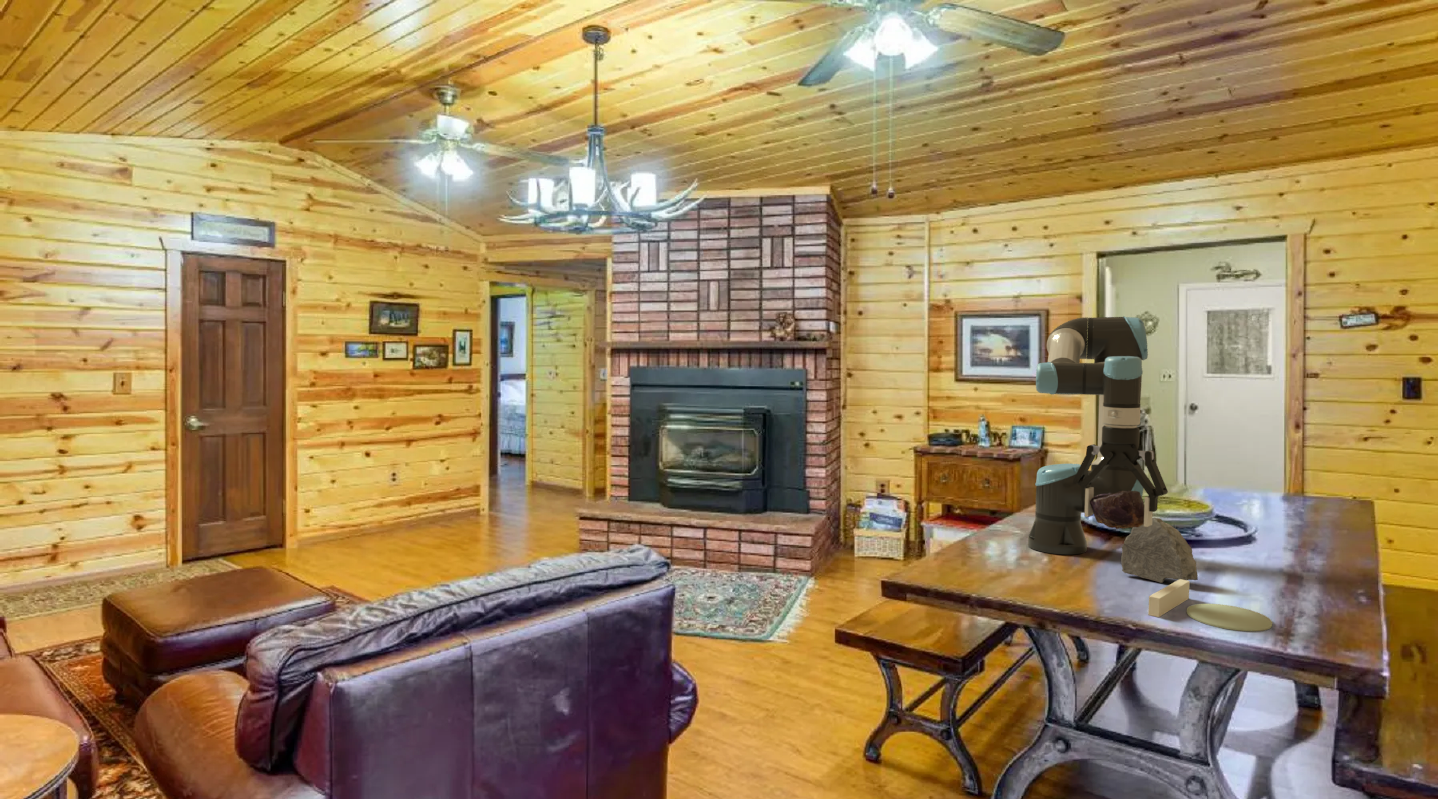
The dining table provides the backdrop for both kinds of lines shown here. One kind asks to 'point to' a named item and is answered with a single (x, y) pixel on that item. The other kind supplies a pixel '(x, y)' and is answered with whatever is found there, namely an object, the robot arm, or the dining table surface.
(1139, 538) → the decorative rock
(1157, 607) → the rail
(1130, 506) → the rock
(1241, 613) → the felt pad
